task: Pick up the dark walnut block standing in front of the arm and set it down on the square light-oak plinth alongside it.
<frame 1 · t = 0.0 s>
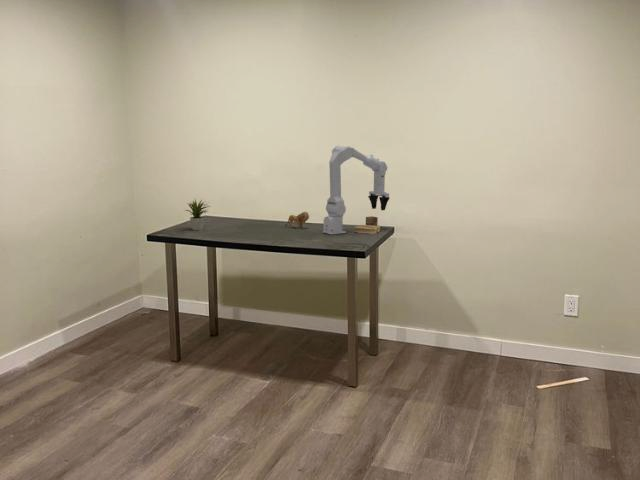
hand: (378, 209, 320), 10 cm above the table, tool pointing down, fingers open, 7 cm apart
lion figurine: (297, 228, 321), on the table
walnut block: (371, 228, 321), on the table
house plant: (197, 230, 313), on the table
oak plinth: (367, 231, 310), on the table
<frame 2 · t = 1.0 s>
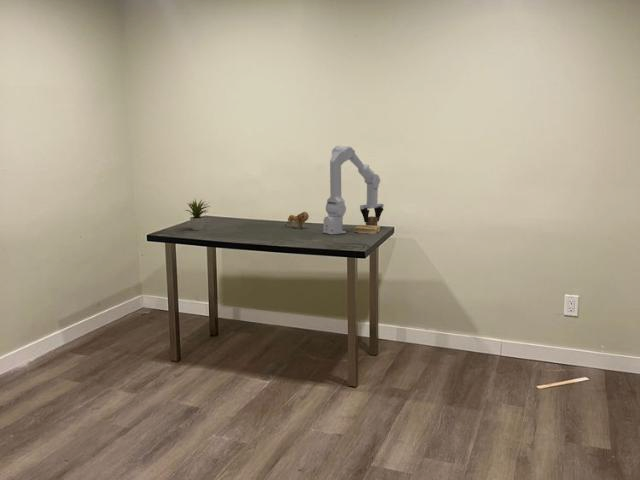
hand: (371, 221, 321), 3 cm above the table, tool pointing down, fingers open, 7 cm apart
nothing on the table moved.
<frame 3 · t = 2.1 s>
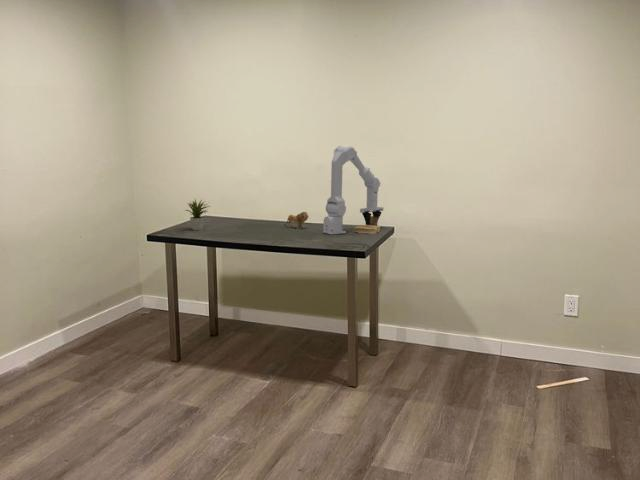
hand: (371, 225, 321), 2 cm above the table, tool pointing down, fingers closed on walnut block, 4 cm apart
walnut block: (371, 228, 321), on the table, touching gripper
everything else where it was.
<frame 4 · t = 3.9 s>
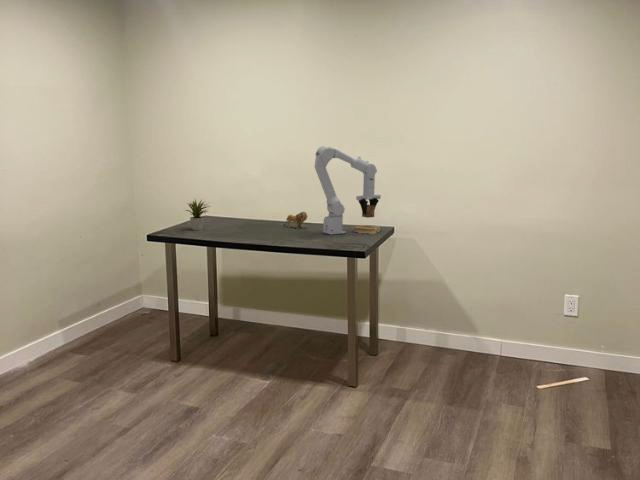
hand: (368, 213, 310), 9 cm above the table, tool pointing down, fingers closed on walnut block, 4 cm apart
walnut block: (368, 216, 310), point 8 cm above the table, touching gripper
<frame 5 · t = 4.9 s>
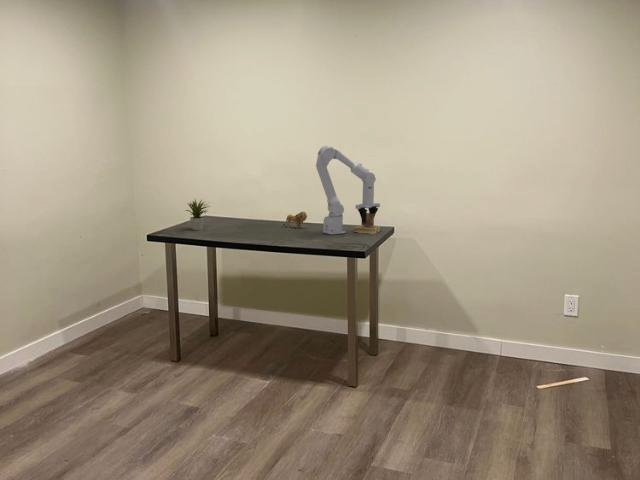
hand: (367, 221, 309), 5 cm above the table, tool pointing down, fingers closed on walnut block, 4 cm apart
walnut block: (367, 225, 309), point 3 cm above the table, touching gripper
when the fingers open (5 cm above the table, at t = 5.7 s): walnut block stays where it is, resting on oak plinth.
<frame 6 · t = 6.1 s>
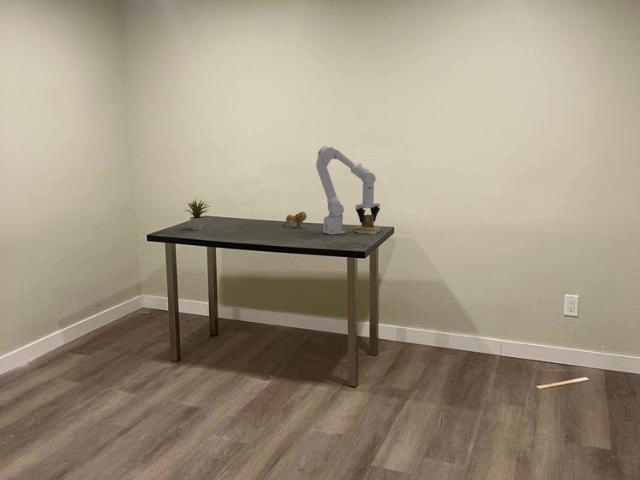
hand: (367, 221, 309), 5 cm above the table, tool pointing down, fingers open, 7 cm apart
walnut block: (367, 226, 309), point 3 cm above the table, touching oak plinth
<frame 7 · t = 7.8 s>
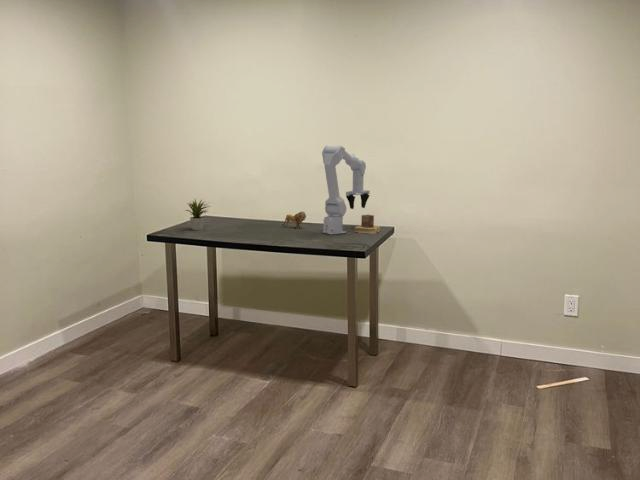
hand: (357, 208, 322), 10 cm above the table, tool pointing down, fingers open, 7 cm apart
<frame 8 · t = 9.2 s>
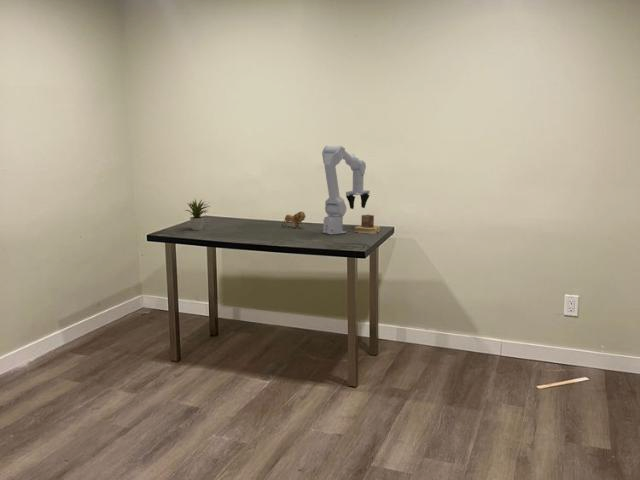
hand: (357, 208, 322), 10 cm above the table, tool pointing down, fingers open, 7 cm apart
at the end: walnut block inside the target area on the oak plinth (0.0 cm from its centre), point 2.5 cm above the oak plinth's base; walnut block tilted 0°; the gripper is holding nothing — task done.
